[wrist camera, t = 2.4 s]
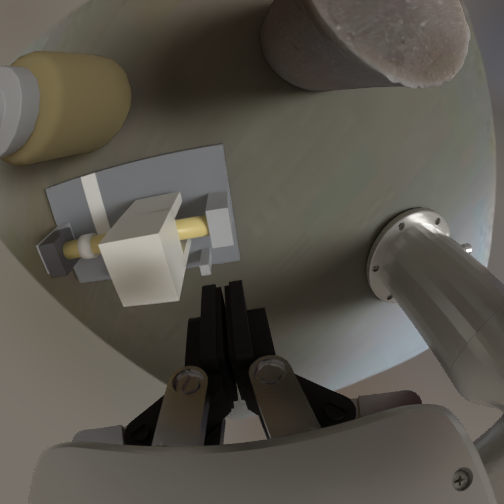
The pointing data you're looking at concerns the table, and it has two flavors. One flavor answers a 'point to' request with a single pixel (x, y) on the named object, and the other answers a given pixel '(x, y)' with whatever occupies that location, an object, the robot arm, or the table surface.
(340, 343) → the table surface
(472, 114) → the table surface
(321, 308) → the table surface
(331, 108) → the table surface
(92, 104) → the squeeze bottle
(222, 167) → the gray assembly board
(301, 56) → the pillar candle
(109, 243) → the white block
